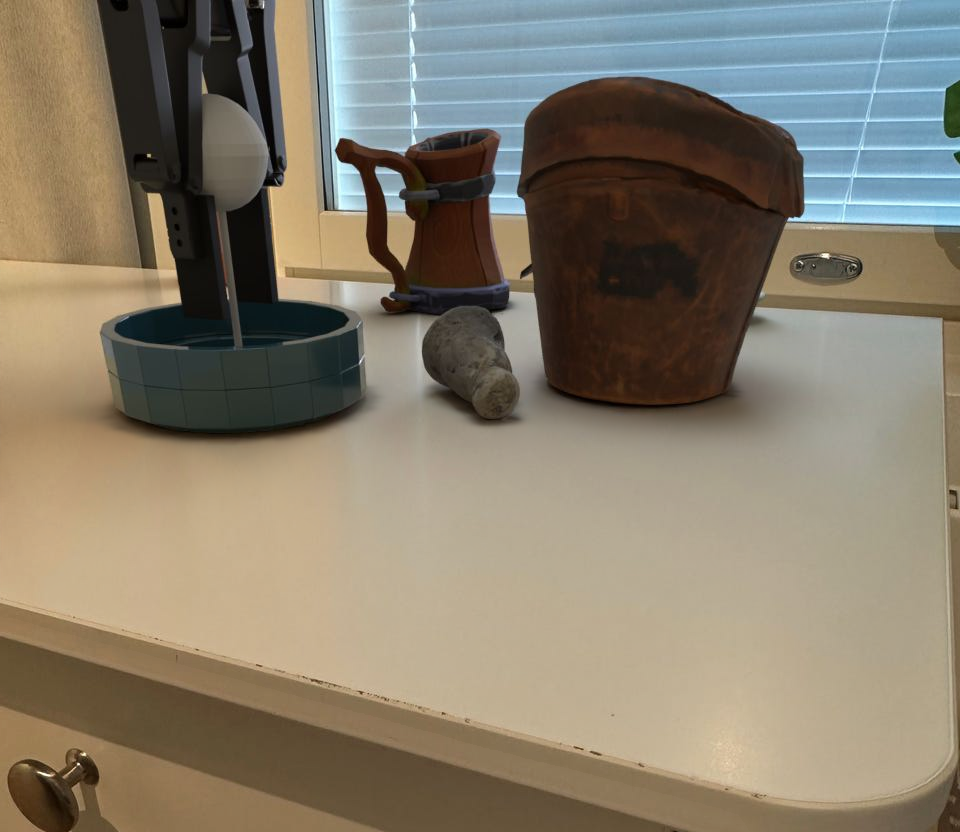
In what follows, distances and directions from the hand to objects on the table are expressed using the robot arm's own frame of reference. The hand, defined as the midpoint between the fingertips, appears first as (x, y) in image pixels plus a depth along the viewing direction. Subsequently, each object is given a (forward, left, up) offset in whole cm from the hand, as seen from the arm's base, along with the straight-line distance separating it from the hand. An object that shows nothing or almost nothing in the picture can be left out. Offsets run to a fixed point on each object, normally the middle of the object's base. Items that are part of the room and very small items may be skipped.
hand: (232, 308), depth 54 cm
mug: (-1, +34, -6) cm, 35 cm away
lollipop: (0, 0, -4) cm, 4 cm away
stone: (+14, +6, -6) cm, 16 cm away
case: (+23, +14, -6) cm, 28 cm away
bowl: (0, 0, -6) cm, 6 cm away
